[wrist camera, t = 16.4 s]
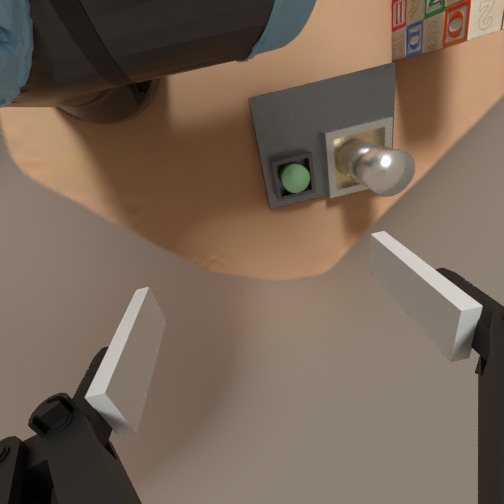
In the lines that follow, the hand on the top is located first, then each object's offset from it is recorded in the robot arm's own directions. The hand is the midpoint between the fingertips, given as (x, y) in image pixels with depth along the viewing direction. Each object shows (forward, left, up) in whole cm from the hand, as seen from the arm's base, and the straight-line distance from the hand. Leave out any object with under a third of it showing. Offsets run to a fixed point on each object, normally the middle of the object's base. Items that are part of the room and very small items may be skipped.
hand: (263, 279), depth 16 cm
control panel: (-2, +13, -27) cm, 30 cm away
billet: (+1, +17, -26) cm, 31 cm away
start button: (+1, +7, -25) cm, 26 cm away
